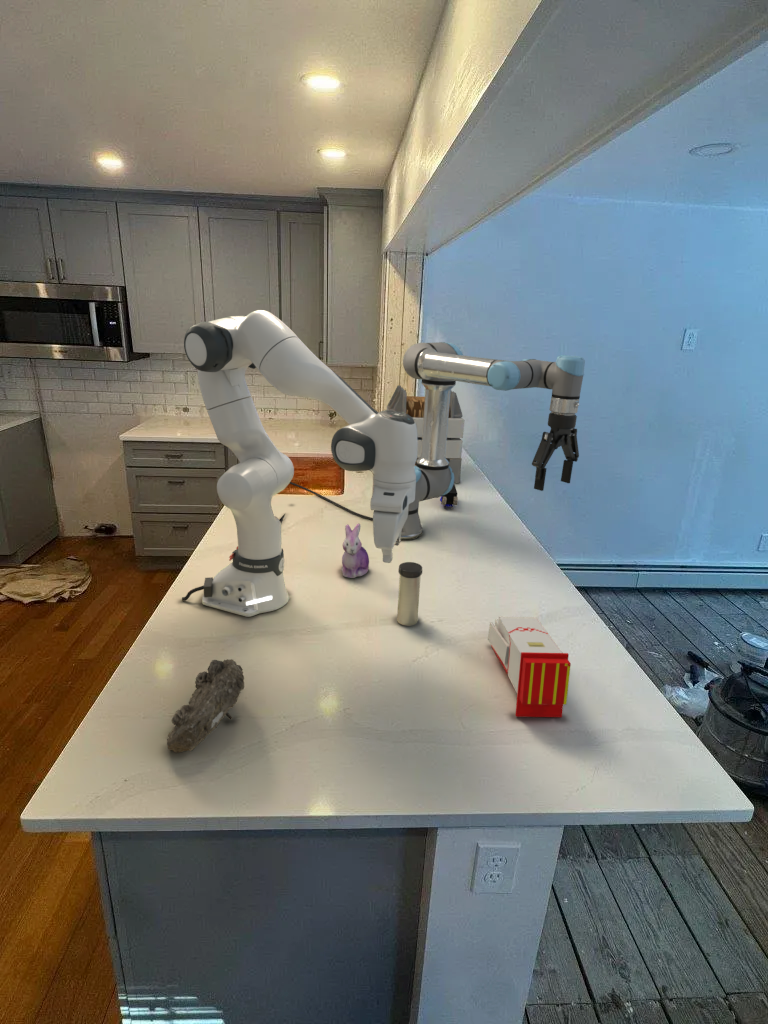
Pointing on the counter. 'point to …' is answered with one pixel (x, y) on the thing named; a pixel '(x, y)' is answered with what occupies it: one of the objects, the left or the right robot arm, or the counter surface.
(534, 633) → the toy
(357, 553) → the figurine
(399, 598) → the thermos bottle
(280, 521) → the feather
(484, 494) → the counter surface
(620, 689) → the counter surface
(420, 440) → the transformer
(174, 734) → the fossil
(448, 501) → the figurine character
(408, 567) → the lid
